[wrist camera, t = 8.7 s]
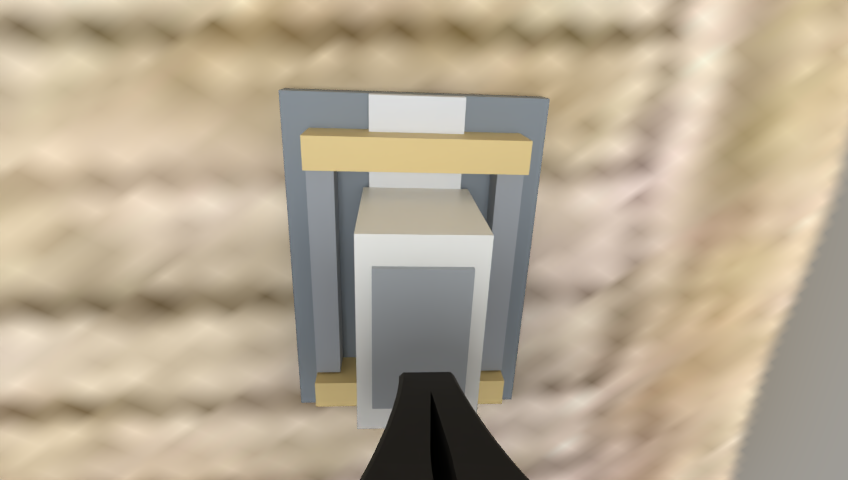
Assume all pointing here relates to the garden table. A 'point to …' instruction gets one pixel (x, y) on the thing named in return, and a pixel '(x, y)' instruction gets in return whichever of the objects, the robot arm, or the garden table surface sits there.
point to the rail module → (418, 292)
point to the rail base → (403, 168)
